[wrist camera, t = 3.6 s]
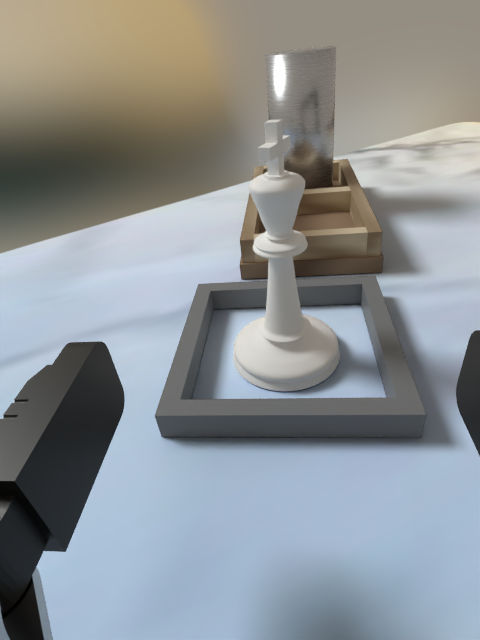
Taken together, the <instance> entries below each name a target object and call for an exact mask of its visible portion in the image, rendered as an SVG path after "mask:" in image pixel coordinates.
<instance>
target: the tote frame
mask: <svg viewBox="0 0 480 640" xmlns="http://www.w3.org/2000/svg"><path fill="white" fill-rule="evenodd" d="M296 284H297V290H298V296H299V301H300V306H308V305H334V304H360V303H361V307H362V310H363V314H364V318H365V321H366V325H367V328H368V332H369V336H370V339H371V343H372V346H373V350H374V354H375V357H376V361H377V364H378V368H379V372H380V375H381V379H382V382H383V386H384V390H385V393H386V397H387V398H296V399H191V398H192V394H193V390H194V386H195V382H196V378H197V374H198V370H199V366H200V362H201V358H202V354H203V350H204V346H205V342H206V338H207V334H208V330H209V326H210V322H211V317H212V313H213V309H231V308H257V307H266V302H267V286H268V281H253V282H232V283H210V284H198V287H197V290H196V293H195V296H194V299H193V302H192V305H191V308H190V311H189V314H188V317H187V320H186V323H185V326H184V329H183V332H182V335H181V338H180V341H179V344H178V347H177V351H176V354H175V357H174V360H173V363H172V366H171V369H170V372H169V375H168V378H167V381H166V384H165V387H164V390H163V393H162V396H161V399H160V402H159V405H158V408H157V411H156V414H155V418H156V421H157V424H158V427H159V430H160V433H161V436H162V437H421V436H422V431H423V427H424V423H425V418H426V412H425V410H424V407H423V404H422V401H421V399H420V396H419V393H418V391H417V388H416V385H415V382H414V380H413V377H412V374H411V371H410V369H409V366H408V363H407V361H406V358H405V355H404V352H403V350H402V347H401V344H400V342H399V339H398V336H397V333H396V331H395V328H394V325H393V323H392V320H391V317H390V314H389V312H388V309H387V306H386V304H385V301H384V298H383V295H382V293H381V290H380V287H379V284H378V282H377V279H376V276H359V277H337V278H316V279H296Z"/></svg>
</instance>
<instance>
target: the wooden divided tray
mask: <svg viewBox="0 0 480 640" xmlns="http://www.w3.org/2000/svg"><path fill="white" fill-rule="evenodd" d="M266 172H268V170H267V166H260V167H255V170H254V174H253V179H254V178H256V177H257V176H259V175H262V174H264V173H266ZM253 179H252V180H253ZM292 229H293V230H295V231H298V232H301V233H302V234H304V235H305V237H306V241H307V243H308V246H307V248H306V250H305V251H304V252H302V253H301V254H299V255H296V256H293V263H294V270H295V276H316V275H337V274H357V273H378V272H382V265H383V255H382V253H381V241H382V230H381V227H380V225H379V223H378V221H377V219H376V217H375V215H374V213H373V211H372V209H371V207H370V205H369V203H368V201H367V198H366V196H365V194H364V192H363V190H362V188H361V186H360V184H359V182H358V180H357V178H356V176H355V174H354V171H353V169H352V167H351V165H350V163H349V161H348V159H343V160H333V187H332V188H319V189H306V190H304V192H303V196H302V198H301V200H300V203H299V207H298V210H297V216H296V219H295V222H294V225H293V227H292ZM265 232H266V229H265V227H264V225H263V223H262V221H261V218H260V215H259V212H258V209H257V207H256V205H255V203H254V201H253V199H252V197H251V194H249V199H248V204H247V208H246V213H245V218H244V223H243V228H242V233H241V237H240V245H241V254H242V255H241V261H240V271H241V279H254V278H268V262H269V258H264V257H261V256H259V255H257V254H256V253H255V252H254V251H253V245H254V240H255V238H256V237H257V236H259V235H260V234H262V233H265Z"/></svg>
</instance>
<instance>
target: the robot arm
mask: <svg viewBox="0 0 480 640" xmlns="http://www.w3.org/2000/svg"><path fill="white" fill-rule="evenodd" d="M456 397H457V404H458V408H459V411H460V414H461V416H462V418H463V421H464V423H465V425H466V427H467V429H468V431H469V434H470V436H471V438H472V440H473V442H474V444H475V447H476V449H477V451H478V453H479V455H480V330H477V331H474V332H473V333H472V334H471V336H470V339H469V342H468V346H467V350H466V353H465V357H464V361H463V364H462V368H461V371H460V375H459V379H458V382H457V388H456ZM14 400H15V402H14V403H12V404H11V405H10V406H9V408H8V409H7V411H6V412H5V413H4V418H3V419H0V640H53V637H52V632H51V627H50V622H49V617H48V612H47V607H46V602H45V597H44V592H43V587H42V582H41V577H40V574H39V571H38V569H37V567H36V566H37V564H38V562H39V560H40V557H41V555H42V553H43V551H61V552H66V550H67V547H68V545H69V542H70V540H71V537H72V535H73V533H74V530H75V528H76V525H77V523H78V520H79V518H80V516H81V513H82V511H83V508H84V506H85V503H86V501H87V499H88V496H89V494H90V491H91V489H92V486H93V484H94V482H95V479H96V477H97V474H98V472H99V469H100V467H101V465H102V462H103V460H104V457H105V455H106V452H107V450H108V448H109V445H110V443H111V440H112V438H113V435H114V433H115V430H116V428H117V426H118V423H119V421H120V418H121V416H122V413H123V409H124V391H123V387H122V385H121V382H120V379H119V377H118V374H117V371H116V369H115V366H114V363H113V361H112V358H111V355H110V353H109V350H108V348H107V346H106V345H105V344H104V343H103V342H73V343H68V344H67V345H66V346H65V347H64V348H63V350H62V351H61V353H60V354H59V356H58V357H57V359H56V360H55V362H54V363H53V365H47V366H46V367H44V368H43V369H42V370H41V371H39V372H38V373H37V374H36V375H34V376H33V377H32V378H31V379H30V380H28V381H27V383H26V384H25V385H24V387H23V388H22V390H21V391H20V392H19V394H18V395H17V397H16V398H15V399H14Z"/></svg>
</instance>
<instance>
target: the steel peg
mask: <svg viewBox="0 0 480 640" xmlns="http://www.w3.org/2000/svg"><path fill="white" fill-rule="evenodd" d="M265 58H266V59H265V60H266V76H267V95H268V112H269V120H282V133H283V135H290V149H289V150H287V151H286V152H284V153H283V157H284V170H286V171H288V172H293V173H297V174H299V175H300V176H302V177H303V178H304V180H305V188H304V190H306V189H319V188H332V187H333V147H334V109H335V70H336V69H335V68H336V66H335V65H336V47H335V46H330V47H316V48H306V49H298V50H290V51H283V52H276V53H271V54H267V55H265Z"/></svg>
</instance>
